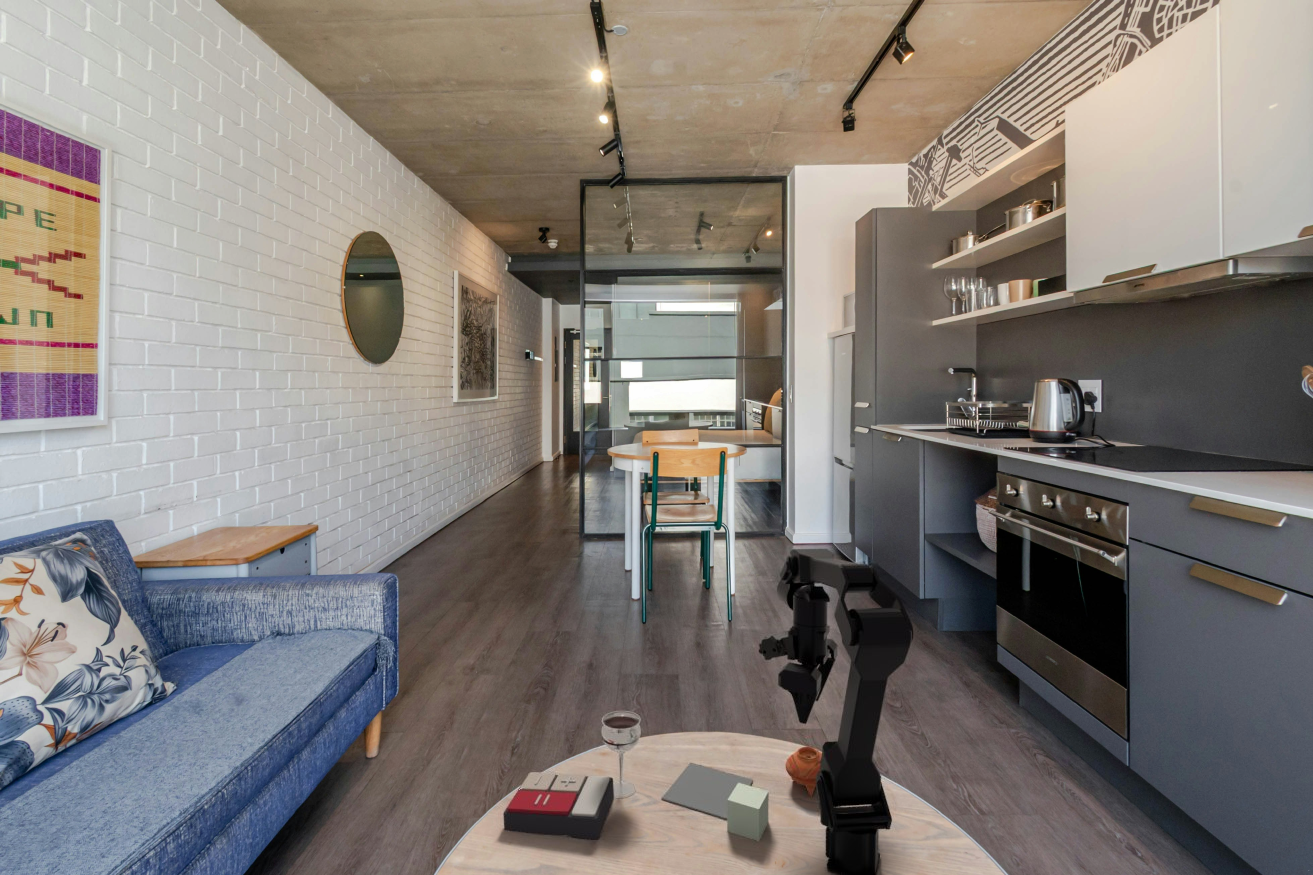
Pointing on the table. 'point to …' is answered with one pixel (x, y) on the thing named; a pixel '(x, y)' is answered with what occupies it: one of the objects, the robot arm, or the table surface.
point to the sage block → (747, 811)
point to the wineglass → (621, 743)
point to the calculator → (561, 805)
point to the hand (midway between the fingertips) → (809, 711)
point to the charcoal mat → (704, 789)
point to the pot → (804, 767)
